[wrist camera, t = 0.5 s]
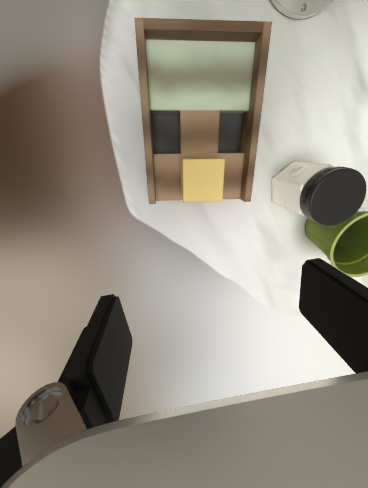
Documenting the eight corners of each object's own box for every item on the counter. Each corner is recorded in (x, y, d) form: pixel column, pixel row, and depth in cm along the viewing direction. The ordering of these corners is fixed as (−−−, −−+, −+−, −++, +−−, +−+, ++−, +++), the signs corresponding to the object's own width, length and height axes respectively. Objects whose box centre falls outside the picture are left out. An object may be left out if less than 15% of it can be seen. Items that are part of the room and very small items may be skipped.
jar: (302, 152, 37) (358, 151, 26) (320, 187, 40) (377, 200, 29) (261, 185, 39) (297, 196, 28) (281, 216, 42) (321, 238, 31)
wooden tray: (140, 40, 30) (134, 17, 25) (254, 43, 31) (271, 21, 26) (151, 197, 39) (149, 204, 34) (240, 195, 40) (250, 201, 35)
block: (181, 158, 34) (183, 159, 29) (217, 158, 34) (224, 158, 29) (181, 195, 36) (183, 201, 31) (215, 195, 36) (222, 200, 32)
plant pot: (302, 194, 41) (347, 208, 30) (357, 198, 42) (419, 212, 31) (286, 249, 45) (321, 277, 35) (336, 250, 46) (384, 278, 36)
